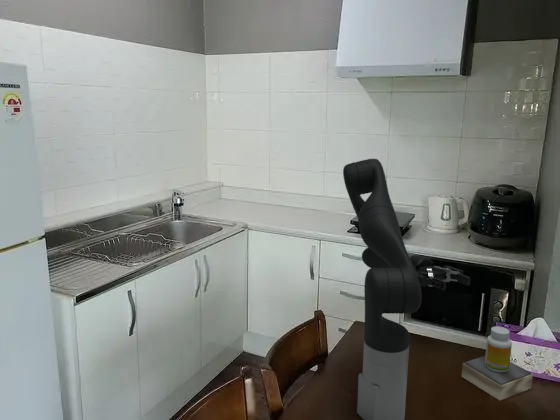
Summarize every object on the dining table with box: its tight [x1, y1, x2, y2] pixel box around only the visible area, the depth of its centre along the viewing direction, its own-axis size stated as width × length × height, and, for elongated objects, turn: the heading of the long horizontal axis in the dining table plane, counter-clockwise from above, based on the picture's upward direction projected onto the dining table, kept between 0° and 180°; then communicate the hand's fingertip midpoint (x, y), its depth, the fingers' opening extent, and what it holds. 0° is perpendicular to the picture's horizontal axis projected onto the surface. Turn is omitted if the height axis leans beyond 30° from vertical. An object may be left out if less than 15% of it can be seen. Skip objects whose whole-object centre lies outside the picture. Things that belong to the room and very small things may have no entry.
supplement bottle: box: [484, 326, 513, 372], centre depth 109 cm, size 5×5×10 cm
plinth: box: [461, 355, 534, 402], centre depth 110 cm, size 11×11×4 cm
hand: (457, 283), depth 117 cm, fingers open, 8 cm apart
